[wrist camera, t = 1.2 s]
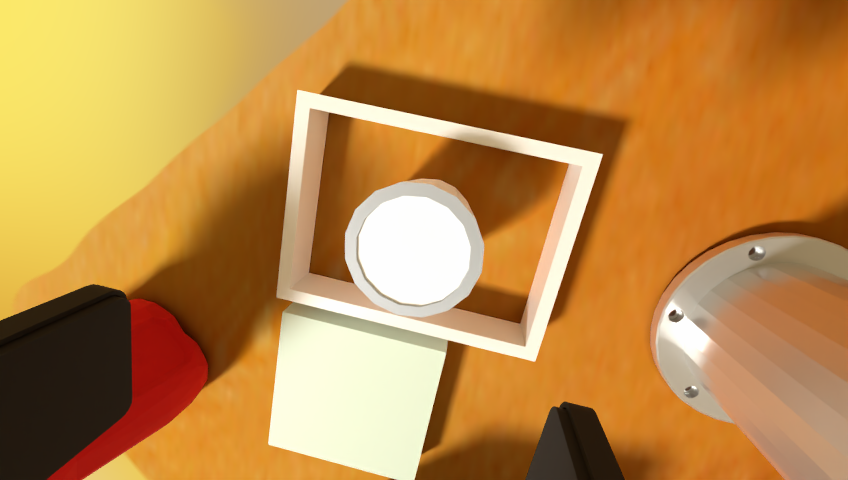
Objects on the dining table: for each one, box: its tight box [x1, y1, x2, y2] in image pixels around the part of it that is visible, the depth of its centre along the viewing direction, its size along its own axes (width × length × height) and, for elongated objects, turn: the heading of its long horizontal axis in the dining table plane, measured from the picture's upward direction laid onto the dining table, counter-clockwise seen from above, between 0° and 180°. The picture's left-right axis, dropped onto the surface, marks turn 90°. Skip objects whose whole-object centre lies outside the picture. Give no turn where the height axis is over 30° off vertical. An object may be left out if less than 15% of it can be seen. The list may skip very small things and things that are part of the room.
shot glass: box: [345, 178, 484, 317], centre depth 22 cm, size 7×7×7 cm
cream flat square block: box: [268, 302, 448, 480], centre depth 28 cm, size 11×11×2 cm
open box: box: [276, 90, 603, 361], centre depth 24 cm, size 17×13×3 cm
